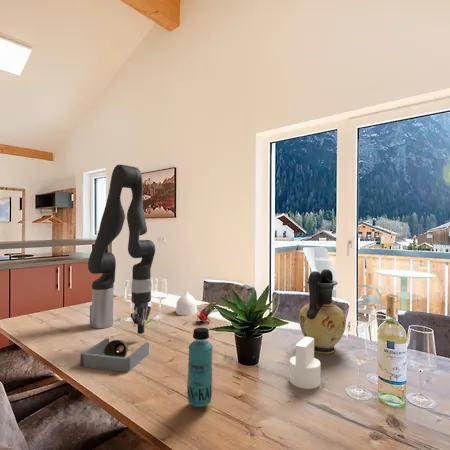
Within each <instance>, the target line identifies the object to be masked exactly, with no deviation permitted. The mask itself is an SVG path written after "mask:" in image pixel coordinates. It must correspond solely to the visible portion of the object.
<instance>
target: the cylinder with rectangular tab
mask: <svg viewBox="0 0 450 450" xmlns="http://www.w3.org/2000/svg"><path fill="white" fill-rule="evenodd" d="M321 368H322V367H321V361H320V360H319V359H318V358H316V357H315V352H314V338H311V337H305V336H304V337H303V338H302V339H300V340H299V341H298V342H297V343H296V344H295V355H294V356H291V357H290V358H289V382H290V384H292V385H293V386H295V387H297V388H300V389H303V390H305V389H306V390H312V389H313V390H314V389H317V388H318V387H320V385H321Z"/></svg>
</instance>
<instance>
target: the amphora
mask: <svg viewBox="0 0 450 450" xmlns="http://www.w3.org/2000/svg"><path fill="white" fill-rule="evenodd" d="M333 277H334V276H333V273H332V271H331V270H330V269H323V270H322V271H321V272H319V271H315V270H314V271H312V272H310V274H309V276H308V279H307V280H306V281H305V282H306V284H307V285H308V296H309V297H308V299H309V303H307V304H305V305H304V306H302V308H301V309H300V311H299V316H298V321H299V322H298V323H299V326H300V330H301V333H302V335H303V336H304V337H311V338H314V353H318V354H324V355H325V354H332V353H335V352H336V348H335V346H336V345H338V343H339V342H340V340H342V337H343V336H344V333H345V331H346V325H347V324H346V323H347V322H346V321H347V320H346V315H345V313H344V311H343V310H342V309H341V308H340V307H339V306H338V305H335V304H333V290H334V287H335V286H336V285H338V284H339V282H338V281H335V280H333V279H334V278H333Z"/></svg>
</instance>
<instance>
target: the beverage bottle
mask: <svg viewBox="0 0 450 450" xmlns="http://www.w3.org/2000/svg"><path fill="white" fill-rule="evenodd" d="M192 338H193V339H194V340H193V341H192V342H191V343H189V345H188V364H187V369H188V370H187V383H186V384H187V385H186V387H187V389H186V394H187V402H188V403H189V404H190V405H191V406H192V407H198V408H200V407H205V406H207V405H209V404H210V403H211V401H212V398H213V349H214V347H213V345H212V343H211V342H209V341H208V340H207V339H209V338H210V333H209V329H208V328H207V327H195V328H194V329H193V334H192Z"/></svg>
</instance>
